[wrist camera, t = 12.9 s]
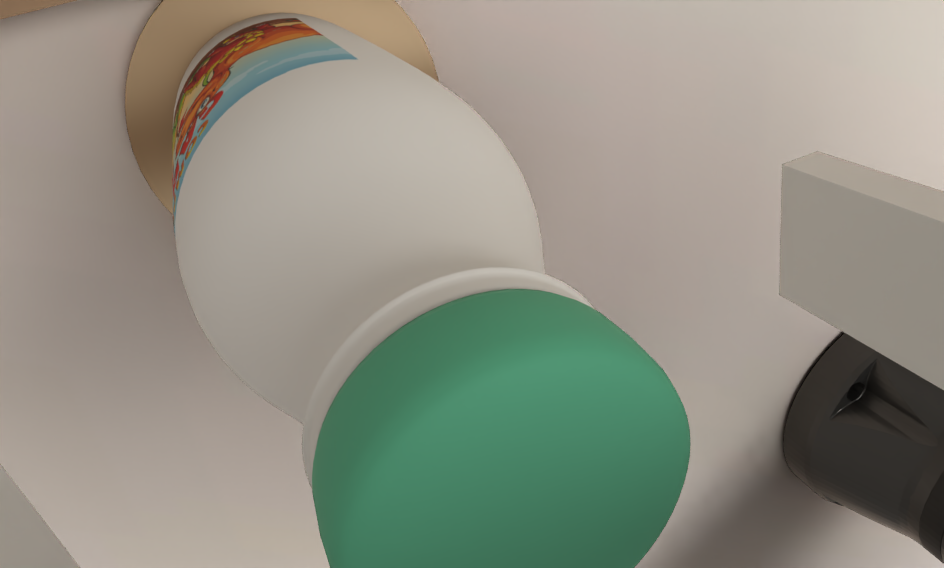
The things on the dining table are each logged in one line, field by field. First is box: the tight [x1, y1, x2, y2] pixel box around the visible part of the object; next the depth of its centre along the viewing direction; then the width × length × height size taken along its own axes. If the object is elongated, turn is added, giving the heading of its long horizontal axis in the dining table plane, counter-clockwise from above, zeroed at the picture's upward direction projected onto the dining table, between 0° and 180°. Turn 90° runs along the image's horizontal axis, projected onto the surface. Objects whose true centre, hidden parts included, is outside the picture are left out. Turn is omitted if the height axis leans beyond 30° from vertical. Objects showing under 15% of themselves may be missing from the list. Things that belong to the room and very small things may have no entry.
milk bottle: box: [172, 13, 690, 568], centre depth 16 cm, size 8×8×20 cm
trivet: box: [125, 0, 439, 214], centre depth 25 cm, size 11×11×1 cm
